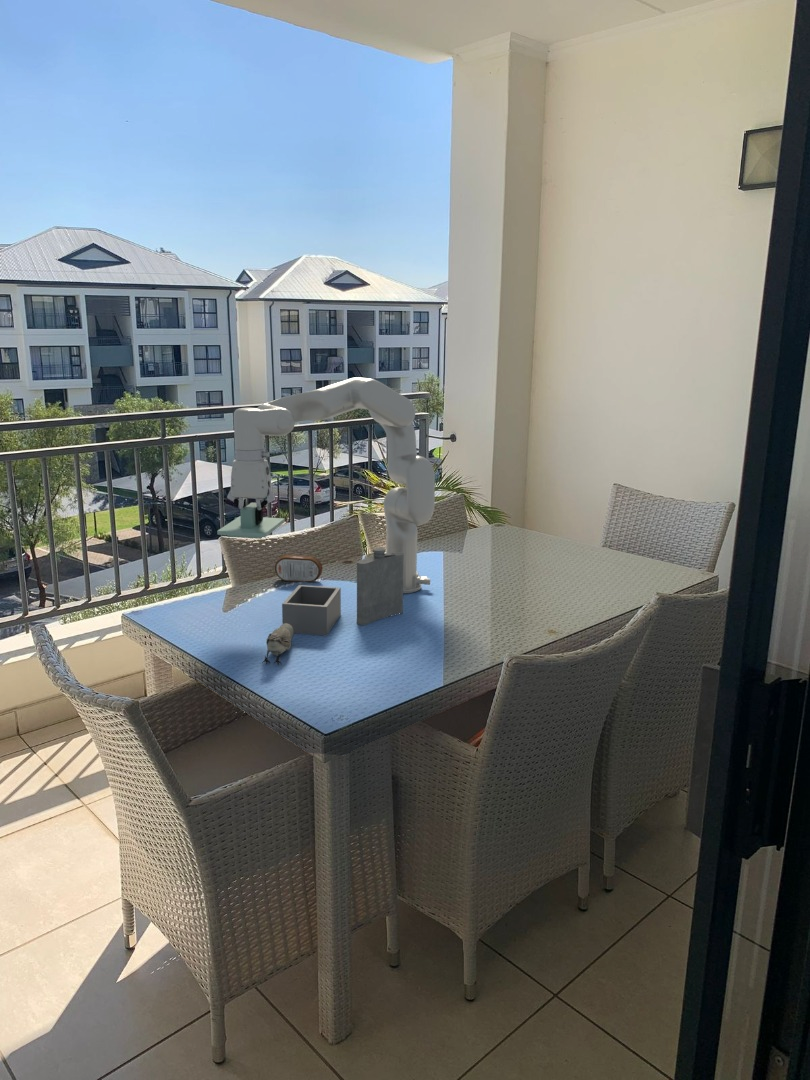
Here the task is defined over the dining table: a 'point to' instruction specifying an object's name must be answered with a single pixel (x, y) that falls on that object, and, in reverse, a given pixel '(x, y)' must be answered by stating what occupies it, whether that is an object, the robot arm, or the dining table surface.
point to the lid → (250, 525)
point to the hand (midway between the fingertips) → (252, 522)
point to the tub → (312, 609)
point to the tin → (298, 568)
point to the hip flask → (379, 586)
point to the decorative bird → (279, 641)
